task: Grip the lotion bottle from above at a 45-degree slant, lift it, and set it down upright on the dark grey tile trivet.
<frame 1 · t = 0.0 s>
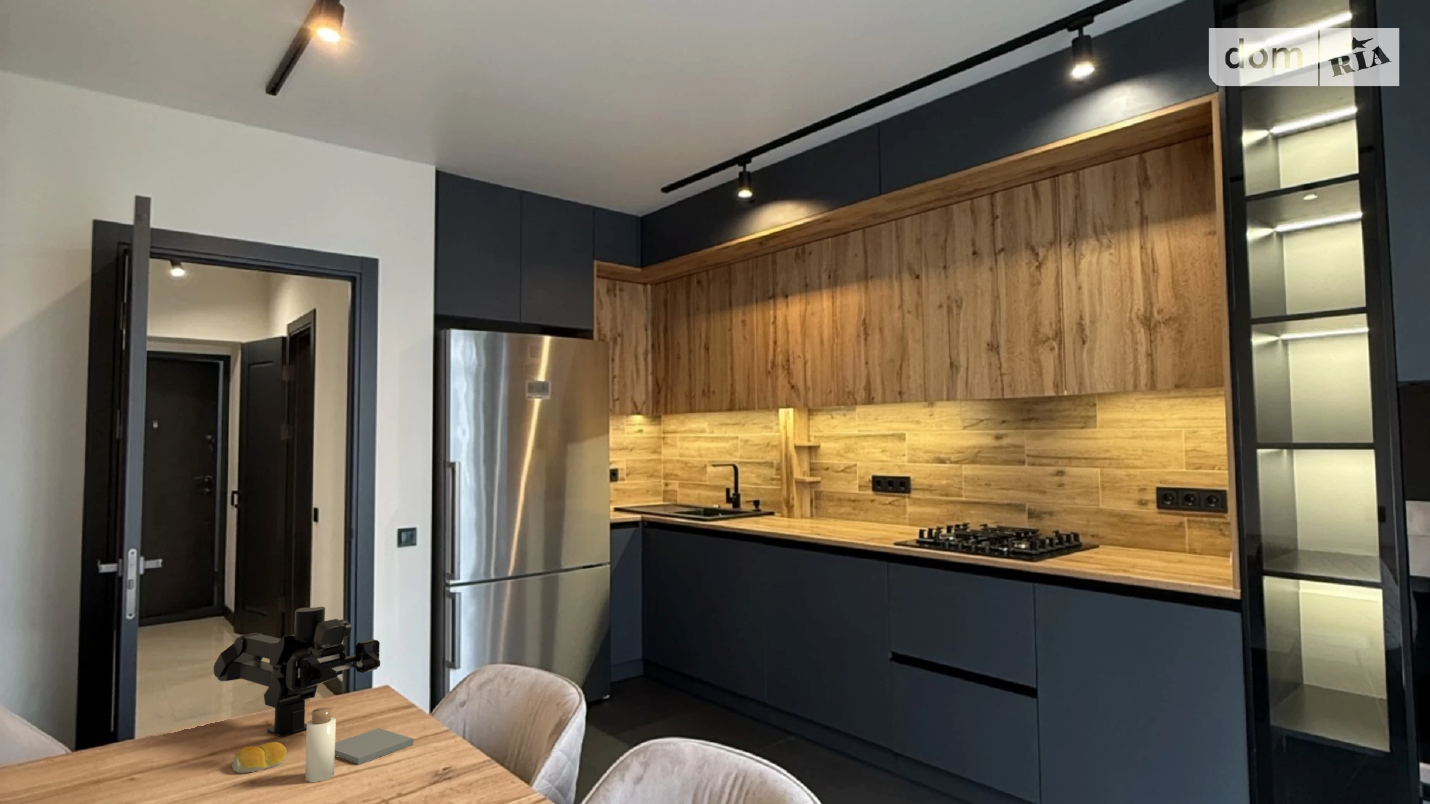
hand: (358, 669, 150), 17 cm above the table, tool horizontal, fingers open, 9 cm apart
lotion bottle: (319, 776, 138), on the table
bread roll: (258, 766, 144), on the table
trivet: (369, 748, 152), on the table
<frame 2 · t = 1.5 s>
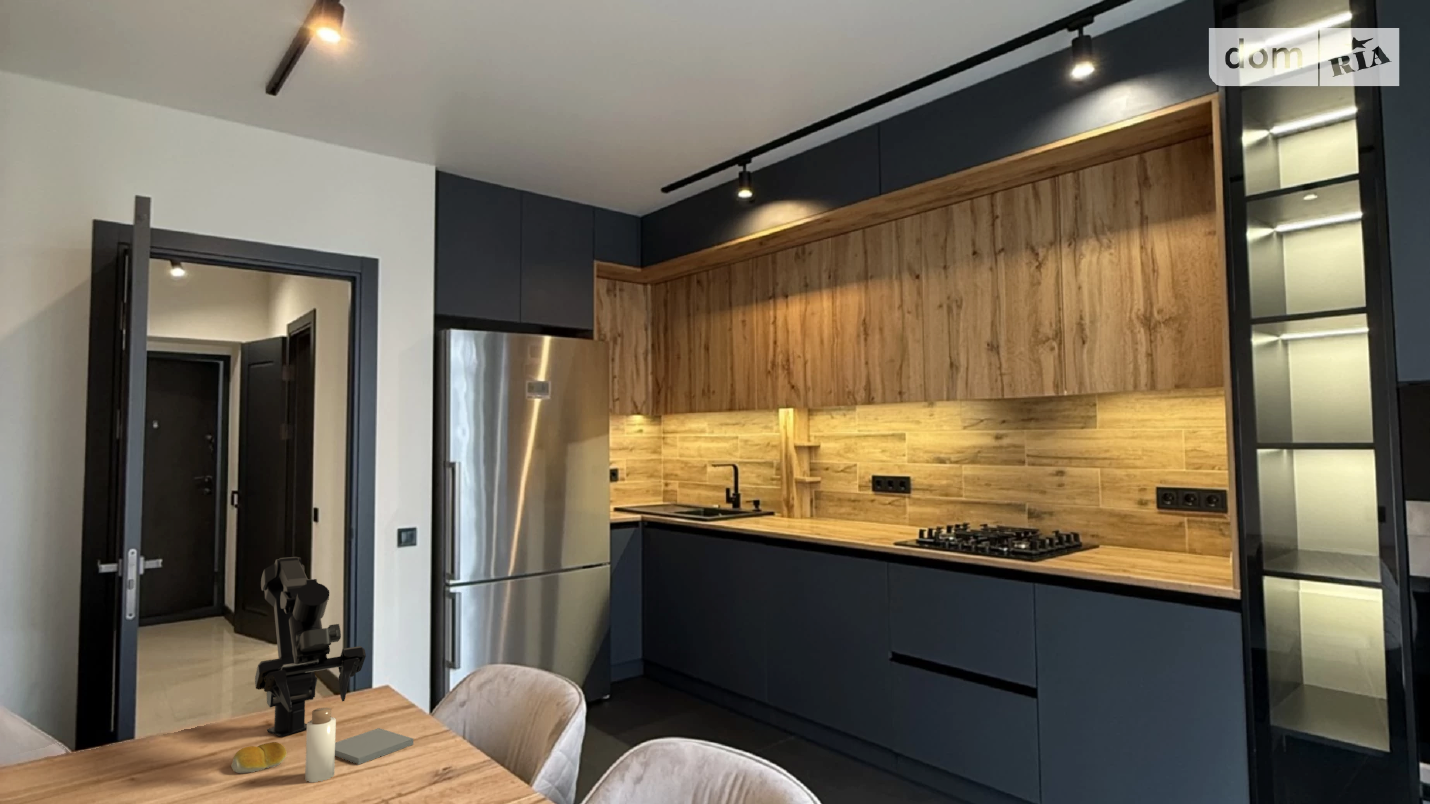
hand: (317, 705, 142), 12 cm above the table, tool tilted 45°, fingers open, 9 cm apart
nothing on the table moved.
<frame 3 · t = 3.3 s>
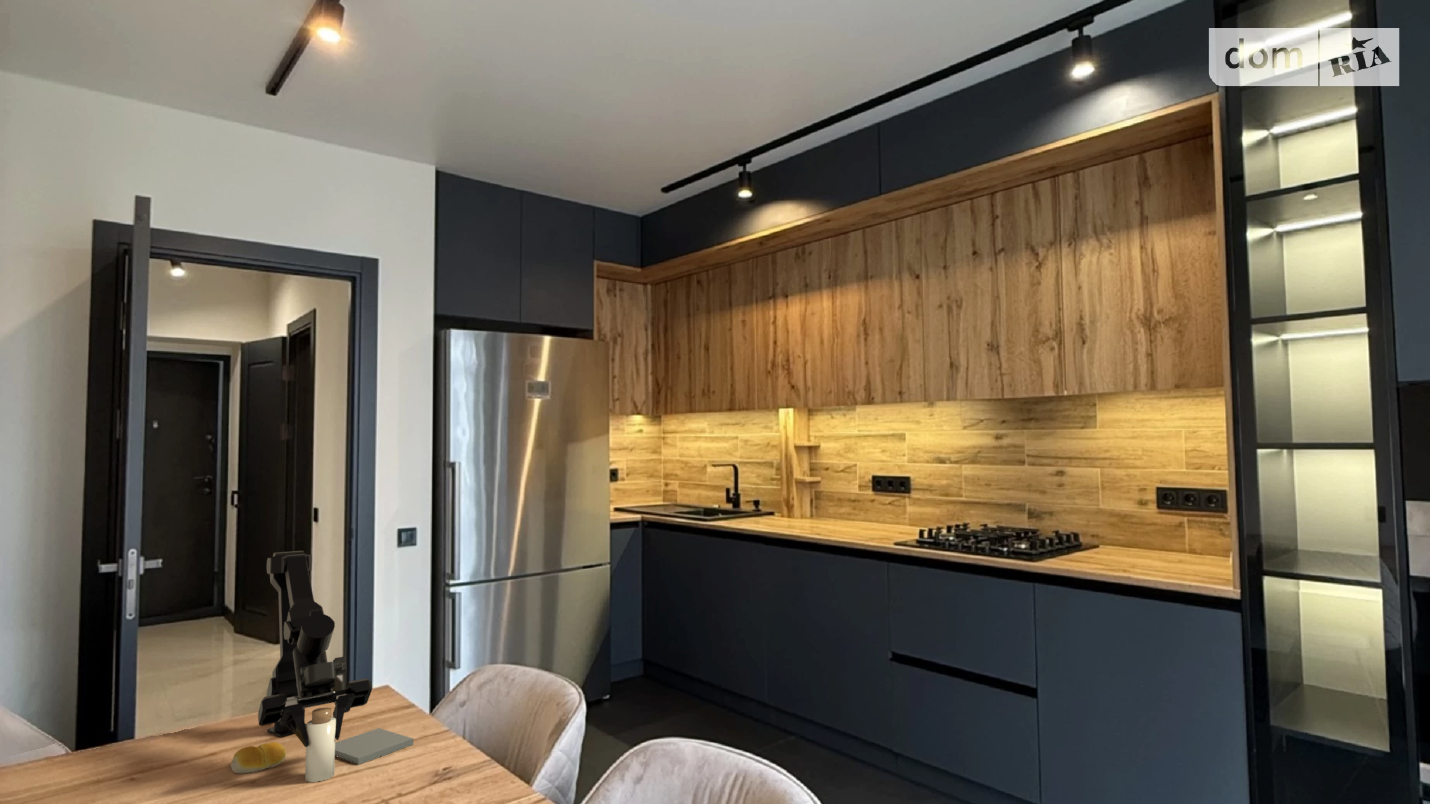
hand: (322, 742, 137), 7 cm above the table, tool tilted 45°, fingers closed on lotion bottle, 5 cm apart
lotion bottle: (319, 776, 138), on the table, touching gripper
everything else where it was.
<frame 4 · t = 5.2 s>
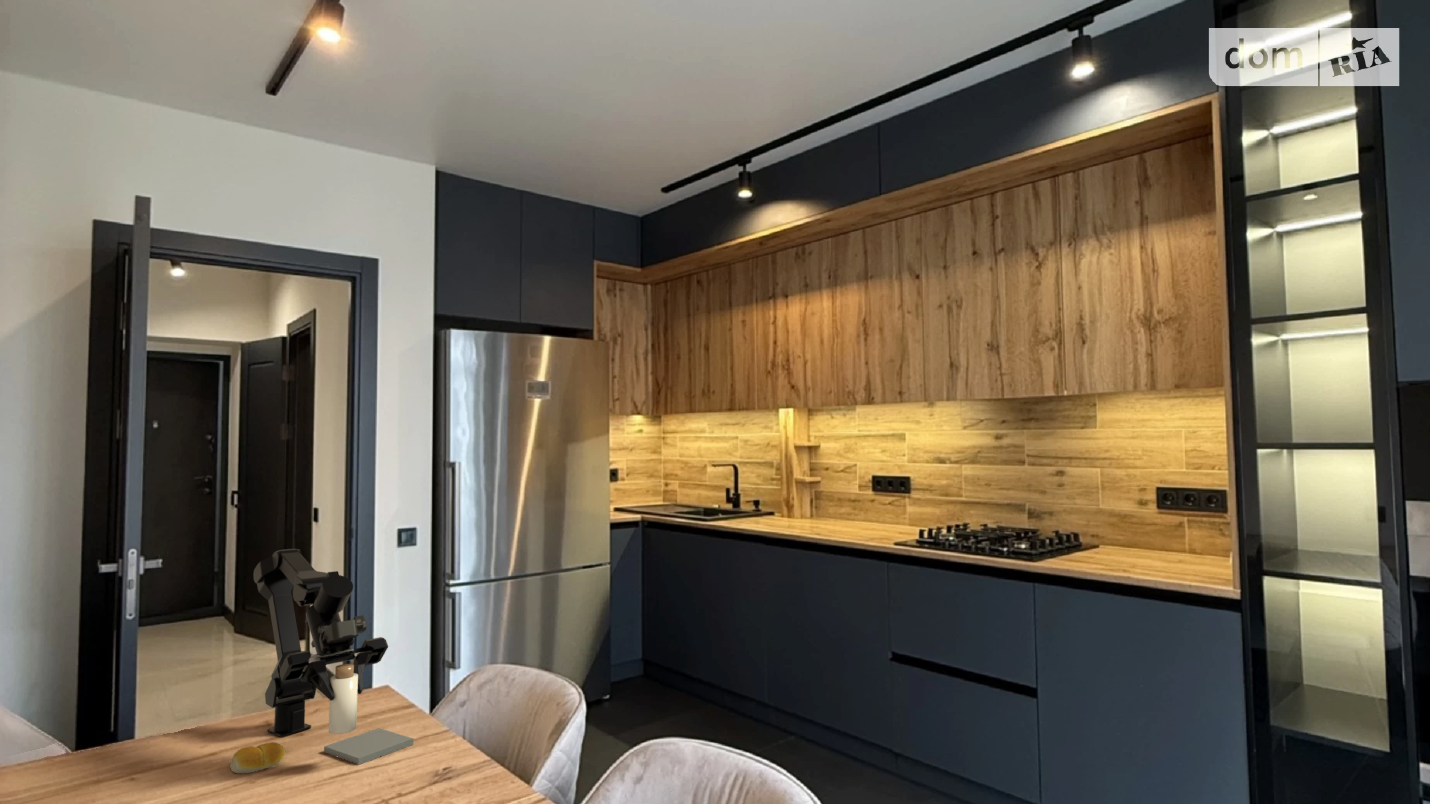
hand: (346, 695, 143), 13 cm above the table, tool tilted 45°, fingers closed on lotion bottle, 5 cm apart
lotion bottle: (342, 729, 143), point 7 cm above the table, touching gripper
everything else where it was.
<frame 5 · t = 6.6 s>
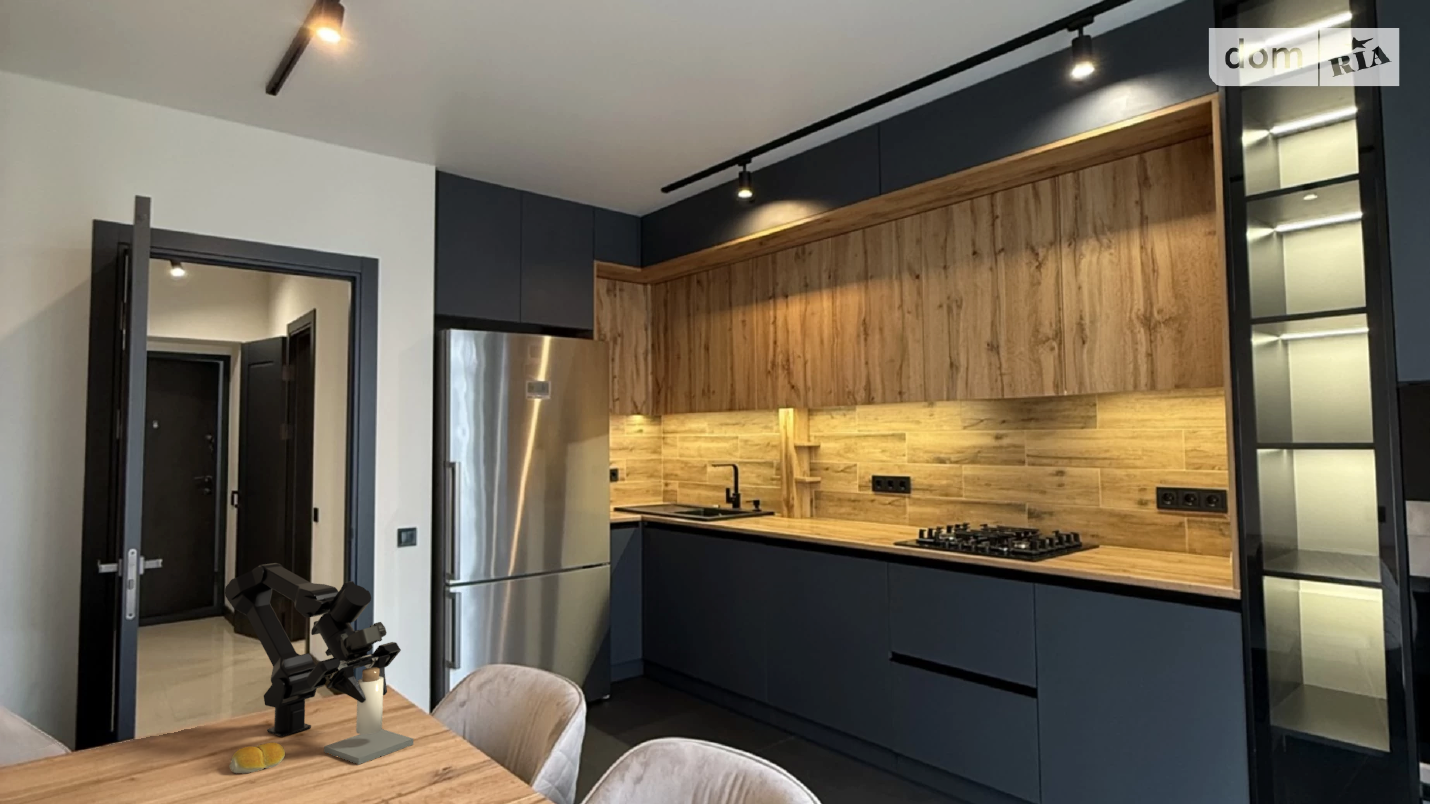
hand: (374, 697, 152), 10 cm above the table, tool tilted 45°, fingers closed on lotion bottle, 5 cm apart
lotion bottle: (369, 729, 152), point 4 cm above the table, touching gripper
everything else where it was.
when the fingers open (9 cm above the table, at t = 7.3 s): lotion bottle stays where it is, resting on trivet.
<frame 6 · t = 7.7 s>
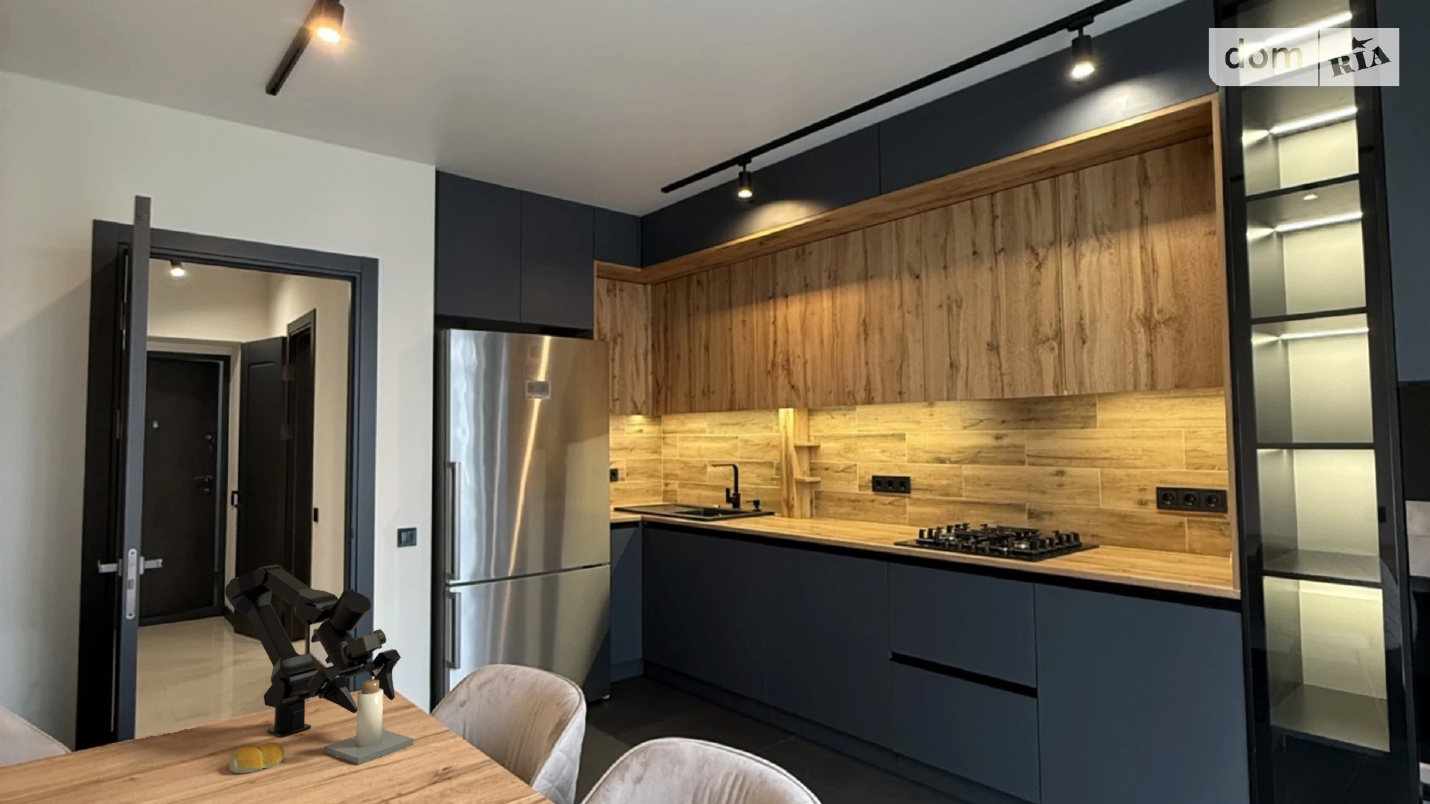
hand: (375, 705, 152), 9 cm above the table, tool tilted 45°, fingers open, 9 cm apart
lotion bottle: (368, 742, 152), point 1 cm above the table, touching trivet
everything else where it was.
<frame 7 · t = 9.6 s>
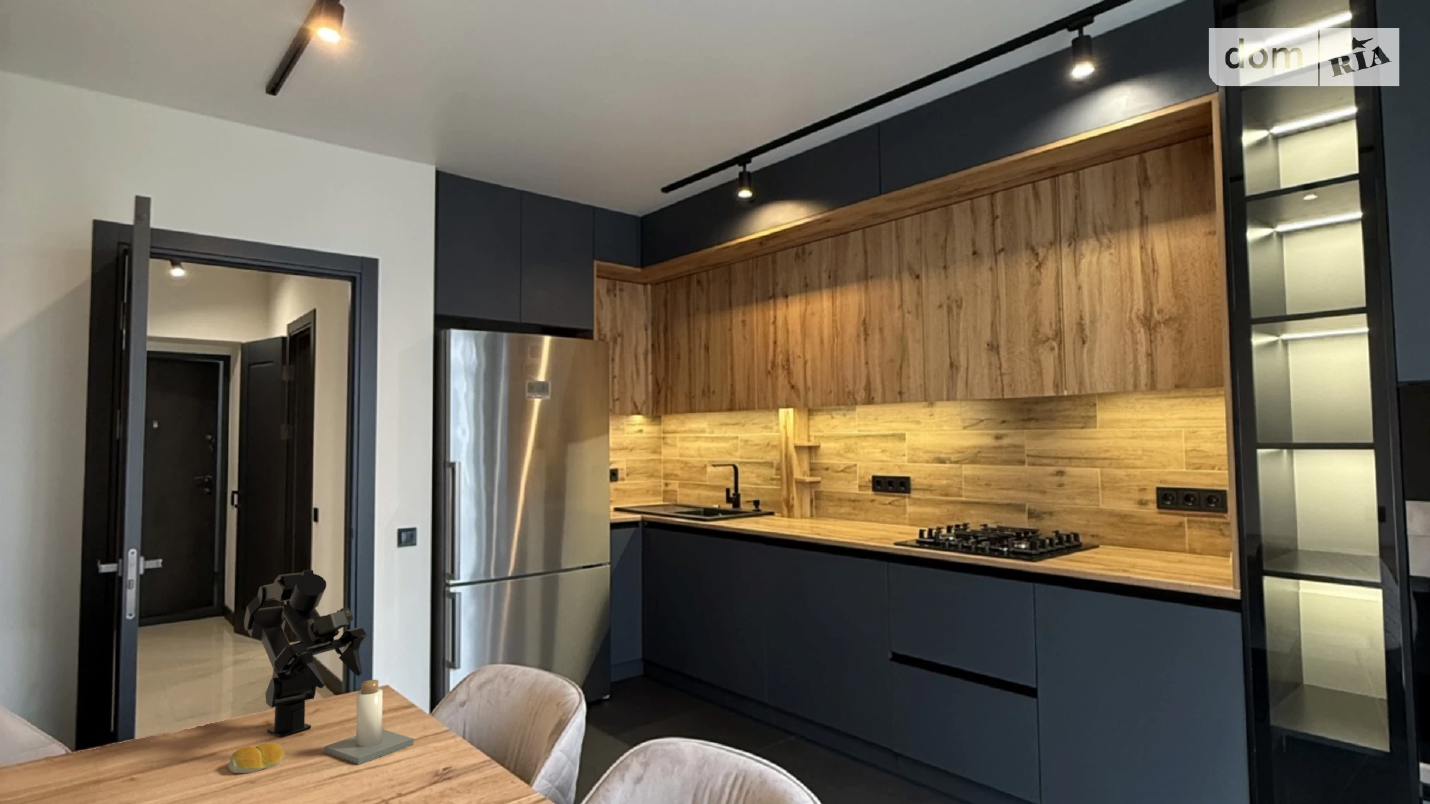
hand: (342, 680, 155), 13 cm above the table, tool tilted 45°, fingers open, 9 cm apart
nothing on the table moved.
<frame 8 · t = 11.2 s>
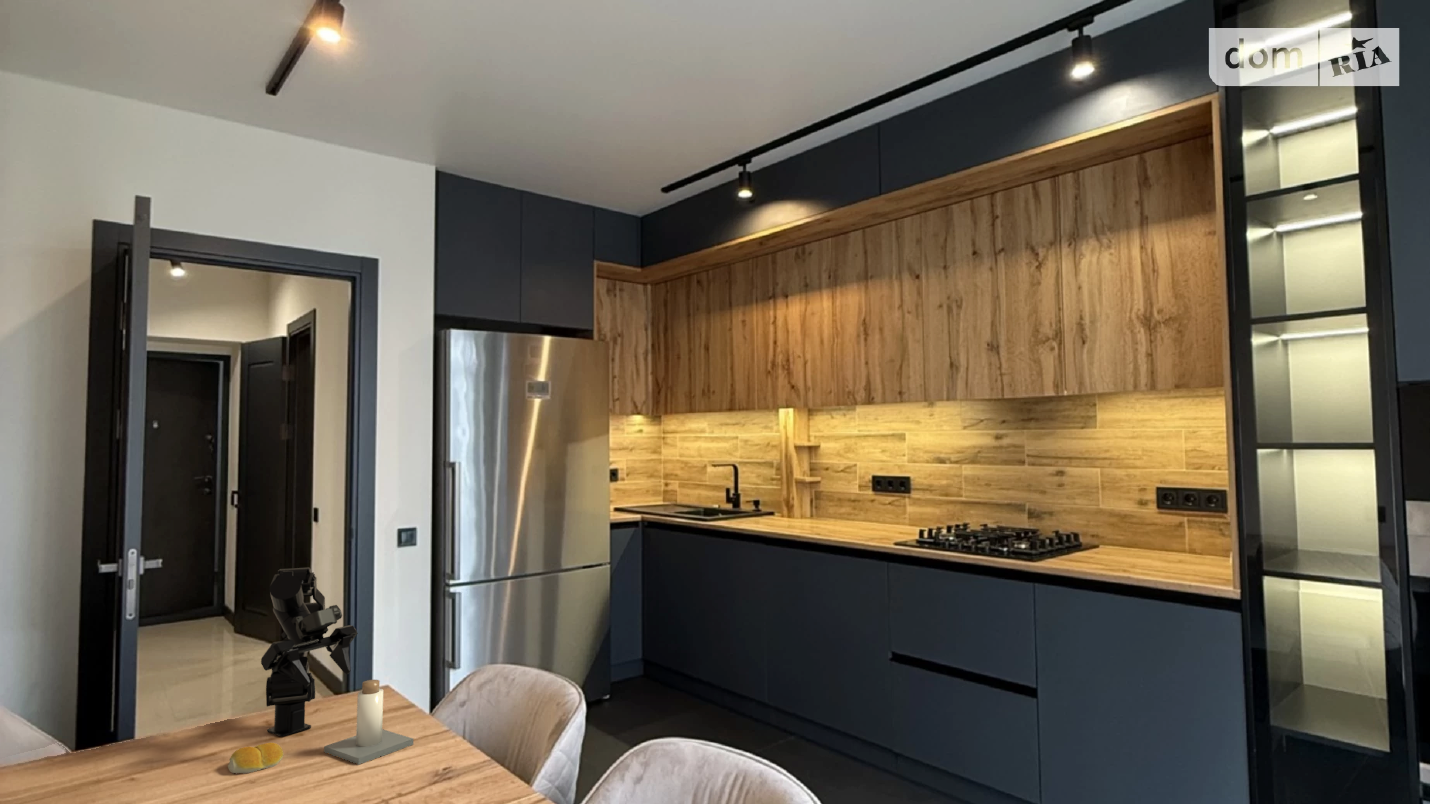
hand: (329, 678, 154), 14 cm above the table, tool tilted 45°, fingers open, 9 cm apart
nothing on the table moved.
at the end: lotion bottle inside the target area on the trivet (0.1 cm from its centre), point 1.2 cm above the trivet's base; lotion bottle tilted 1°; the gripper is holding nothing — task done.
